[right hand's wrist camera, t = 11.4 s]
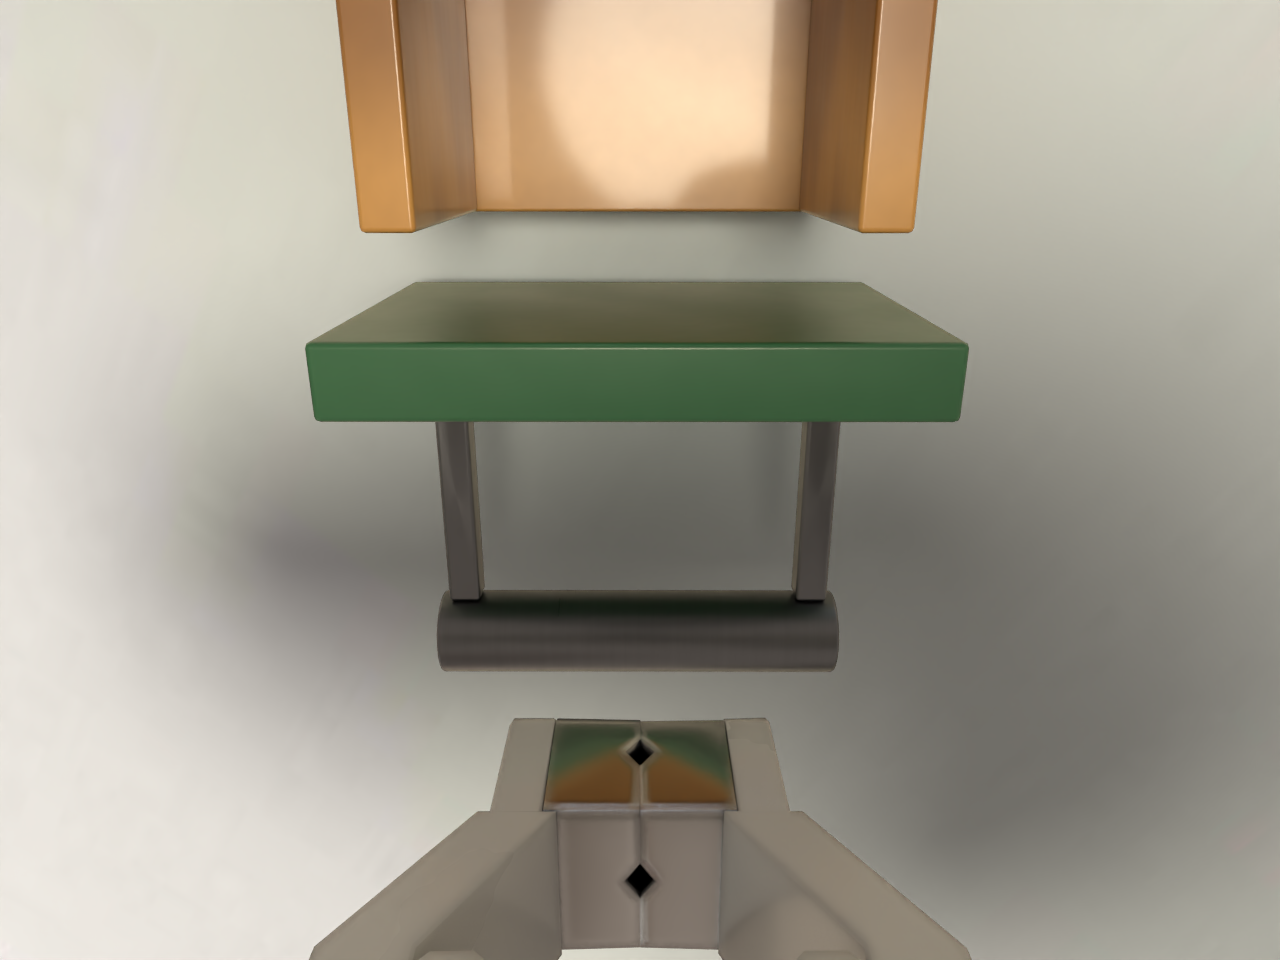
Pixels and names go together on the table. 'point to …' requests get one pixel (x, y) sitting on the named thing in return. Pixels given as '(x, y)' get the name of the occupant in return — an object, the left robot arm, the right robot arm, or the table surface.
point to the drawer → (637, 311)
